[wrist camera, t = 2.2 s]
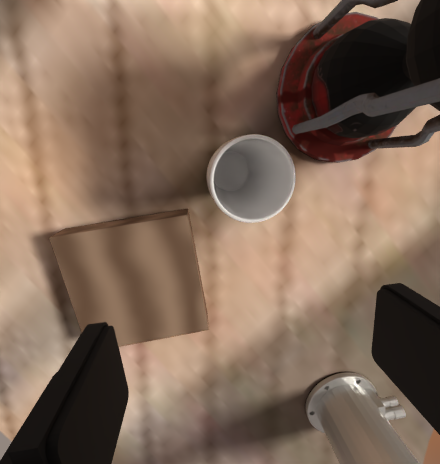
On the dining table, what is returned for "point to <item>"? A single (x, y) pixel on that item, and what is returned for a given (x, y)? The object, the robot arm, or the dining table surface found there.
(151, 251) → the walnut block
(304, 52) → the hourglass
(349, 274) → the dining table surface
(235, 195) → the white tapered cylinder
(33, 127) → the dining table surface
